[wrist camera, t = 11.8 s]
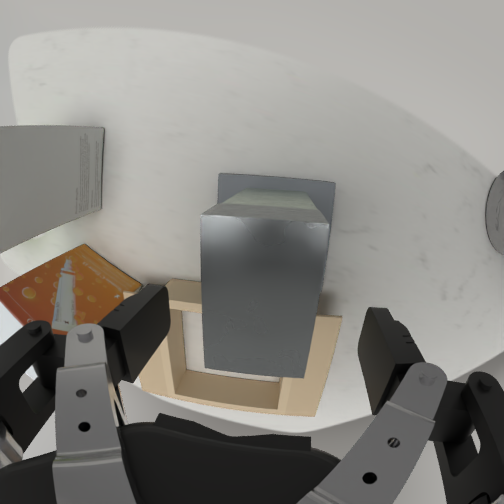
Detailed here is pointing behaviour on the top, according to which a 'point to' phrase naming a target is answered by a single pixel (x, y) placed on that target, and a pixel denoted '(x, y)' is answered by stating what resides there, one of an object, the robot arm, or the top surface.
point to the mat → (316, 190)
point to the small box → (63, 294)
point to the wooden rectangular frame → (228, 388)
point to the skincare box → (47, 178)
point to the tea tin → (261, 281)
